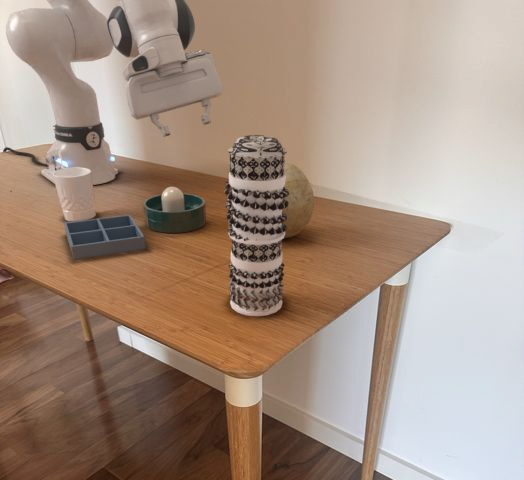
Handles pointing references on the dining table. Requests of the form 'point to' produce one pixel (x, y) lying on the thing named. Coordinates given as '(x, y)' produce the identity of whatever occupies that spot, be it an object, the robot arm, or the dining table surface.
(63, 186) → the white cup
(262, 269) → the decorative candle
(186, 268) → the dining table surface
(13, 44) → the robot arm
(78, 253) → the divided tray
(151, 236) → the dining table surface
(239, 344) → the dining table surface
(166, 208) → the cream capsule
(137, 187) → the dining table surface
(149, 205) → the bowl
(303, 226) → the fossilized egg
